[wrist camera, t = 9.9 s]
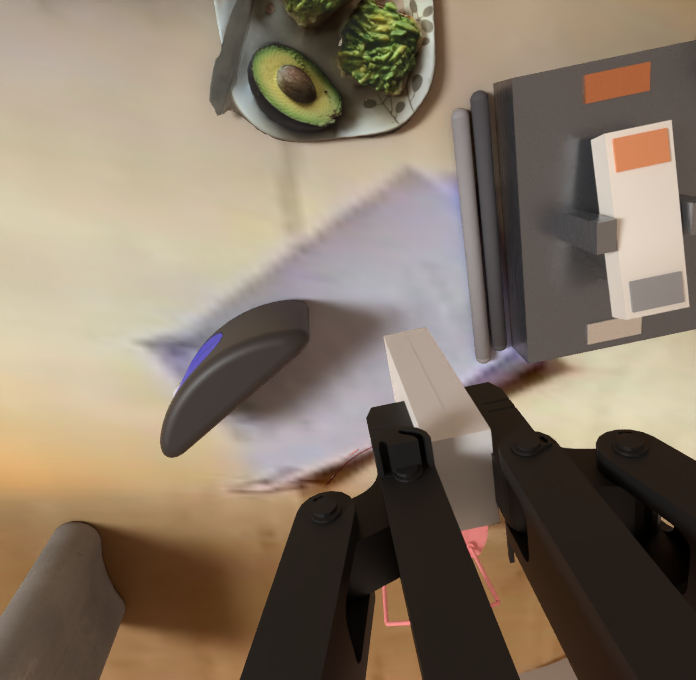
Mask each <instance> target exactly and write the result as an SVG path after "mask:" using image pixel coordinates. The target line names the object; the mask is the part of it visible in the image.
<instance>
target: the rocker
mask: <svg viewBox="0 0 696 680" xmlns="http://www.w3.org/2000/svg"><path fill="white" fill-rule="evenodd" d="M591 146H592V154H593V163H594V171H595V179H596V187H597V196H598V204H599V212H600V215H603V216H607V217H611V218H615V219H617V250H616V251H614V252H609V253H605V261H606V270H607V278H608V286H609V294H610V303H611V311H612V317H614V318H619V319H624V320H629V319H633V318H638V317H643V316H648V315H653V314H657V313H662V312H667V311H672V310H677V309H681V308H686V307H690V306H689V296H688V286H687V275H686V265H685V254H684V244H683V234H682V223H681V213H680V203H679V192H678V182H677V171H676V161H675V151H674V140H673V130H672V120H668V121H663V122H658V123H654V124H649V125H644V126H639V127H634V128H630V129H625V130H620V131H615V132H610V133H605V134H603V135H601V136H599V137H596V138H594V139H592V140H591Z"/></svg>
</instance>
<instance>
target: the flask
mask: <svg viewBox="0 0 696 680" xmlns="http://www.w3.org/2000/svg"><path fill="white" fill-rule="evenodd" d="M124 613H125V603H124V602H123V600H122V599H121V597H120V596H119V594H118V593H117V591H116V590H115V589H114V587H113V585H112V583H111V581H110V579H109V576H108V574H107V571H106V568H105V565H104V561H103V556H102V546H101V537H100V535H99V534H98V532H97V530H96V529H94V528H93V527H91V526H90V525H87V524H84V523H81V522H69V523H66V524H63V525H61V526H60V527H59V528H57V529H56V530H55V532H54V533H53V535H52V537H51V538H50V540H49V541H48V543H47V545H46V546H45V548H44V549H43V551H42V552H41V554H40V556H39V557H38V559H37V560H36V562H35V563H34V565H33V567H32V568H31V570H30V571H29V573H28V575H27V576H26V578H25V579H24V581H23V582H22V584H21V586H20V587H19V589H18V590H17V592H16V593H15V595H14V597H13V598H12V600H11V601H10V603H9V605H8V606H7V608H6V609H5V611H4V612H3V614H2V616H1V617H0V680H99V679H100V676H101V673H102V671H103V668H104V665H105V663H106V660H107V658H108V655H109V652H110V650H111V647H112V644H113V642H114V639H115V636H116V634H117V631H118V629H119V626H120V623H121V621H122V618H123V615H124Z"/></svg>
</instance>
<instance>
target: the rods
mask: <svg viewBox="0 0 696 680" xmlns="http://www.w3.org/2000/svg"><path fill="white" fill-rule="evenodd" d="M470 102H471V114H472V125H473V136H474V147H475V159H476V170H477V181H478V193H479V204H480V215H481V226H482V238H483V249H484V260H485V271H486V283H487V294H488V305H489V317H490V328H491V339H492V346H493V348H494V349H495V350H497V351H502V350H504V349H505V348H506V346H507V339H506V326H505V313H504V300H503V287H502V274H501V260H500V247H499V234H498V221H497V208H496V195H495V182H494V169H493V155H492V142H491V129H490V116H489V103H488V95H487V94H486V92H484V91H482V90H479V91H476V92H474V93H473V95H472V96H471V100H470ZM451 120H452V129H453V139H454V149H455V159H456V168H457V178H458V188H459V197H460V207H461V217H462V226H463V236H464V246H465V256H466V265H467V275H468V285H469V294H470V304H471V314H472V323H473V333H474V343H475V353H476V359H477V361H478V362H479V363H482V364H484V363H487V362H488V361H489V360H490V358H491V355H490V344H489V333H488V322H487V311H486V300H485V289H484V278H483V267H482V256H481V245H480V234H479V223H478V212H477V201H476V189H475V178H474V167H473V156H472V145H471V134H470V123H469V114H468V112H467V110H465V109H464V108H458V109H456V110H455V111H454V112H453V114H452V117H451Z"/></svg>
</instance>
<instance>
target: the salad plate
mask: <svg viewBox="0 0 696 680" xmlns="http://www.w3.org/2000/svg"><path fill="white" fill-rule="evenodd" d="M403 2H404V8H405V15H404V14H402V13H399V12H396V11H397V7H396V5H395V4H394V3H393V2H388V3H386V4H385V7H383V6H380V5H378V4H377V3H376V1H374V0H214V4H215V11H216V17H217V24H218V29H219V34H220V39H221V43H222V44H221V45H222V49H221V53H220V56H219V57H218V58H217V59H216V61H215V65H214V69H213V74H212V81H211V86H210V102H211V103H212V106H213V107H214V109H215V111H216V113H217V115H221V114H225V112H226V111H227V110H233V111H235V112H237V113H239V114H240V115H241V116H243V117H244V118H245V119H246V120H247V121H248V122H249V123H251V124H252V125H253V126H254V127H255V128H256V129H258V130H260V131H261V132H263V133H264V134H268V135H270V136H271V137H273V138H275V139H278V140H282V141H290V142H311V141H324V140H331V139H340V138H351V137H358V138H361V137H374V136H378V135H384V134H390V133H393V132H395V131H397V130H398V129H400V128H401V127H402V126H403V125H405V124H406V123H407V122H408V121H409V120H410V118H411V117H412V116H413V115H414V114H415V113H416V111H417V110H418V108H419V107H420V105H421V104H422V102H423V101H424V99H425V97H426V96H427V94H428V92H429V89H430V87H431V85H432V82H433V76H434V70H435V61H436V47H435V44H436V40H435V27H434V1H433V0H403ZM268 4H273V5H275V11H274V13H272V14H268V13H266V11H265V7H266V6H267V5H268ZM341 38H342V45H341V46H338V44H339V41H340V39H341ZM365 100H366V101H365Z"/></svg>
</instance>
